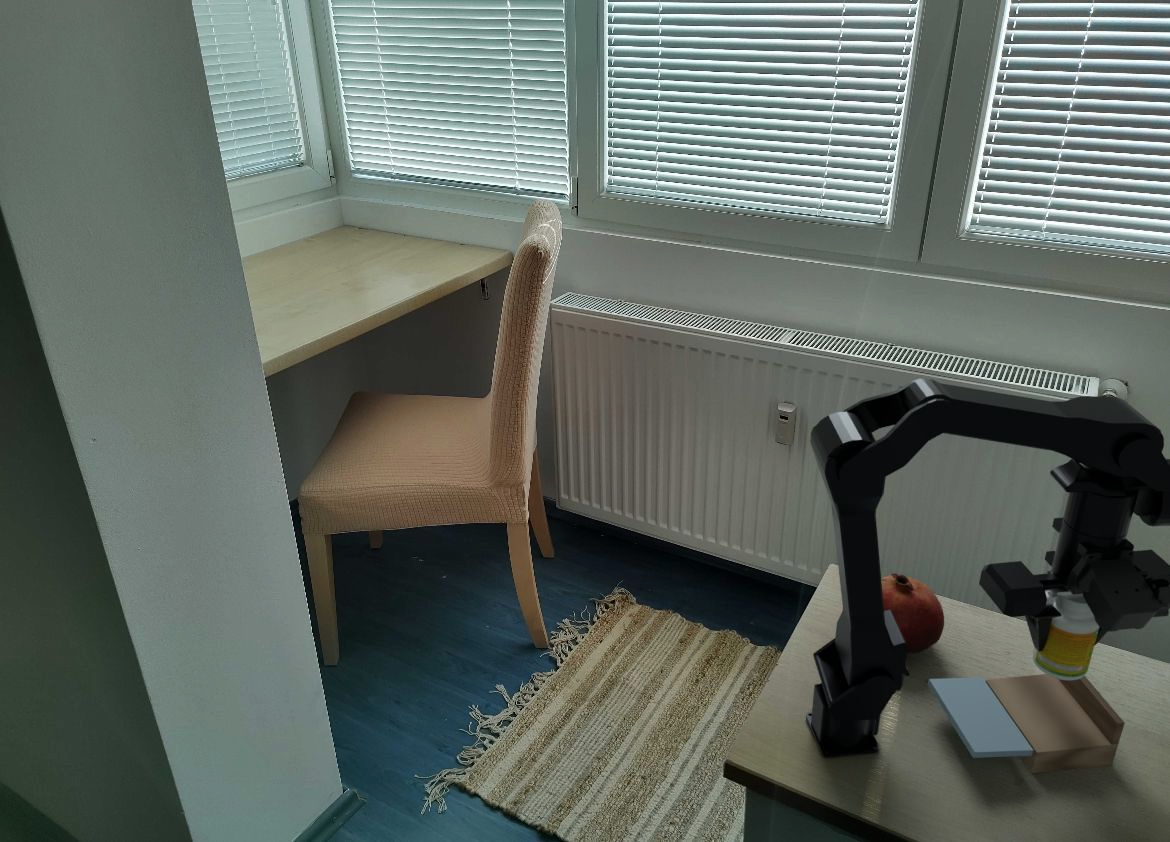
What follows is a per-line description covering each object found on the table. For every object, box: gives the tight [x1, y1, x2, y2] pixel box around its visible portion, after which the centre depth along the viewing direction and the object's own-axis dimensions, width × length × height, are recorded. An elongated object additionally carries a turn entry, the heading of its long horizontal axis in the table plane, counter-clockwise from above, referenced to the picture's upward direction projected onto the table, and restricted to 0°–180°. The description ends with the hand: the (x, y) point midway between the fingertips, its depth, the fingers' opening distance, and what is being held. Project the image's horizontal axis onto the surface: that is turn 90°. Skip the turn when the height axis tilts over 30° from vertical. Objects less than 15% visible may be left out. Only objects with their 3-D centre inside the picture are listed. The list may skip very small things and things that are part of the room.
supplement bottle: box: [1032, 594, 1099, 680], centre depth 95 cm, size 5×5×10 cm
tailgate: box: [927, 677, 1033, 759], centre depth 100 cm, size 1×11×6 cm
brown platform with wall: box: [985, 673, 1126, 774], centre depth 100 cm, size 9×11×6 cm
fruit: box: [881, 573, 945, 655], centre depth 114 cm, size 11×10×10 cm
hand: (1063, 646), depth 96 cm, fingers closed on supplement bottle, 5 cm apart
